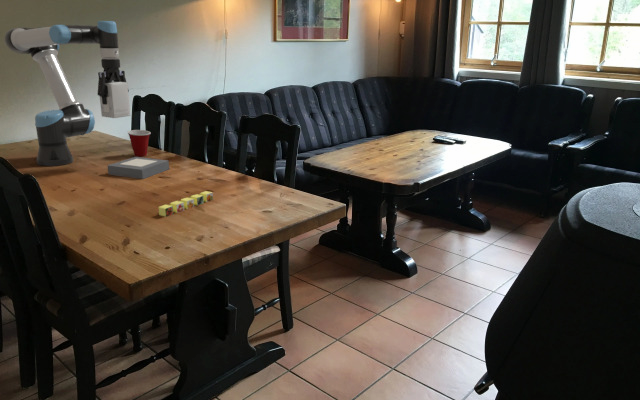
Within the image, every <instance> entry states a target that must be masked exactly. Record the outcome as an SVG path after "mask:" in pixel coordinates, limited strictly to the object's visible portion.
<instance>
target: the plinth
mask: <svg viewBox="0 0 640 400" xmlns="http://www.w3.org/2000/svg"><path fill="white" fill-rule="evenodd" d="M169 170H170V164H169V160H166V159H158V158H151V157H150V158H149V157H143V156H142V157H137V156H134V157H133V156H132V157H129V158H128V159H123V160H121V161H117V162H114V163H111V164H107V174H108V175H111V176H116V177H117V176H118V177H125V178H133V179H138V180H144V179H147V178H149V177H153V176H155V175H158V174H161V173H163V172H166V171H169Z"/></svg>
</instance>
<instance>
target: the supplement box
mask: <svg viewBox="0 0 640 400" xmlns="http://www.w3.org/2000/svg"><path fill="white" fill-rule="evenodd" d="M105 85H106V86H108V95H107V97H109V105H110V112H104V106H103V103H102V97H100V96H99V103H100V112H101V117H104V118H111V119H118V118H125V117H131V108H130V98H129V92H128V90H129V86H128V82H127V81H126V82H114V81H112V82H111V83H105ZM104 94H105V93H104Z"/></svg>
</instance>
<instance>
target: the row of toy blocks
mask: <svg viewBox="0 0 640 400" xmlns="http://www.w3.org/2000/svg"><path fill="white" fill-rule="evenodd" d="M213 200H214V194H213V192H212V191H207V190H204V191H202V192H200V193H199V194H197V193H196V194H192V195H190V196H189V197H184V198H181V199H180V200H175V201H172V202H170V203H169V204H163V205H160V206H158V215H159V216H162V217H166V218H167V217H169V216H173V215H174V213H181V212H183V211H185V209H186V210H188V209H192V208H194V207H195V206H200V205H203V204H204V202H205V203H208V202H211V201H213Z"/></svg>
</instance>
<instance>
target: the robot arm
mask: <svg viewBox="0 0 640 400" xmlns="http://www.w3.org/2000/svg"><path fill="white" fill-rule="evenodd" d="M117 28H118V27H117V23H116V21H112V20H98V21H97V24H96V25H93V24H92V25H90V24H85V25H80V24H61V23H60V24H54V25H51V26H45V27H13V28H10V29H9V30H7V31H6V32H5V34H4V37H3V38H4V43H5V46H6V47H7V48H8V49H9V50H10V51H11V52H14V53H17V54H22V55H30V56H31V57H32V60H33V61H35V62H37V63H38V65H39V67H40V70H41V71H42V73H43V76H44V77H45V80H46V82H47V84H48V86H49V89H50V90H51V93H52V95H53V97H54V99H55V102H56V103H57V105H58V109H51V110H45V111H42V112H38V113H37V114H36V115H35V117H34V121H35V123H34V124H35V125H34V126H35V130H36V134H37V135H36V136H37V141H38V142H37V143H38V151H37V157H36V164H37V165H39V166H42V167H43V166H44V167H45V166H46V167H53V166H55V167H56V166H63V165H68V164H71V163H73V162H74V157H73V154H72V152H71V151H70V148H69V146H68V142H67V141H68V140H67V139H68V138H71V137H76V136H77V137H79V136H84V135H88V134H90V133H92V132H93V130H94V129H95V123H96V119H95V115H94V113H93V112H92V111H91V110H90V109H88V108H85V107H84V105H83V103H82V102H79V101H78V99H77V98H76V95H75V93H74V91H73V89H72V87H71V85H70V82H69V81H68V78H67V76H66V73H65V72H64V69H63V67H62V65H61V63H60V61H59V58H58V57H57V56H58V54H59V50H60V45H71V44H72V45H75V44H79V45H80V44H87V45H88V44H89V45H90V44H91V45H92V44H94V45H95V44H99V52H100V58H101V61H100V62H101V68H103V71H102V72H101V71H99V72H98V82H97V96H98V97H99V98H100V97H102V103H103V106H104V112H110V105H109V97H107V95H108V86H106V85H105V83H111V82H112V81H114V82H127V79H126V75H125V74H126V73H125V70H120V68H121V61H120V59H119V58H120V51H119V37H118V29H117ZM129 91H130V90H129V89H128V93H129ZM104 93H105V94H104Z"/></svg>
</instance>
